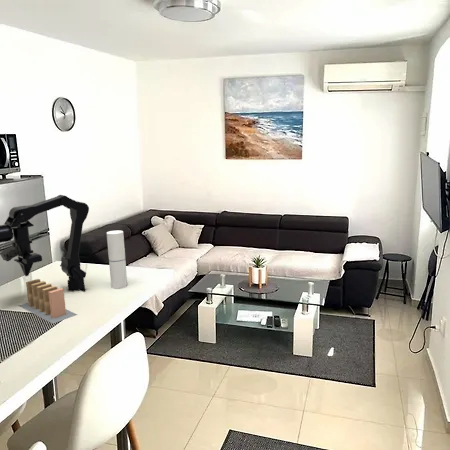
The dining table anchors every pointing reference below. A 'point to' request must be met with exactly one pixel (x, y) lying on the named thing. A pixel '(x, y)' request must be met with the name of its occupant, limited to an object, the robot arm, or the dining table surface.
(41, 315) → the mat
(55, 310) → the terracotta domino
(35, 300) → the domino
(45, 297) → the domino
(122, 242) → the cylindrical container
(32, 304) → the domino
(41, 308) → the domino
